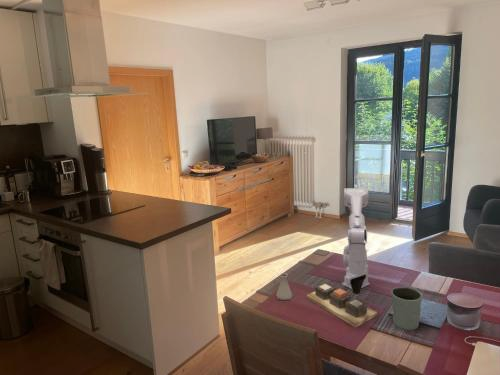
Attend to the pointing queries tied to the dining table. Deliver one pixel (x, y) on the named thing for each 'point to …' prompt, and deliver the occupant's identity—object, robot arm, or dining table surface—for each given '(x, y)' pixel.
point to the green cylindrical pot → (406, 307)
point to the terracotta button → (340, 293)
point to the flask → (284, 289)
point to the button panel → (341, 306)
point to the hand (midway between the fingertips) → (356, 293)
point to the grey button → (356, 303)
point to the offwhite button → (325, 287)
